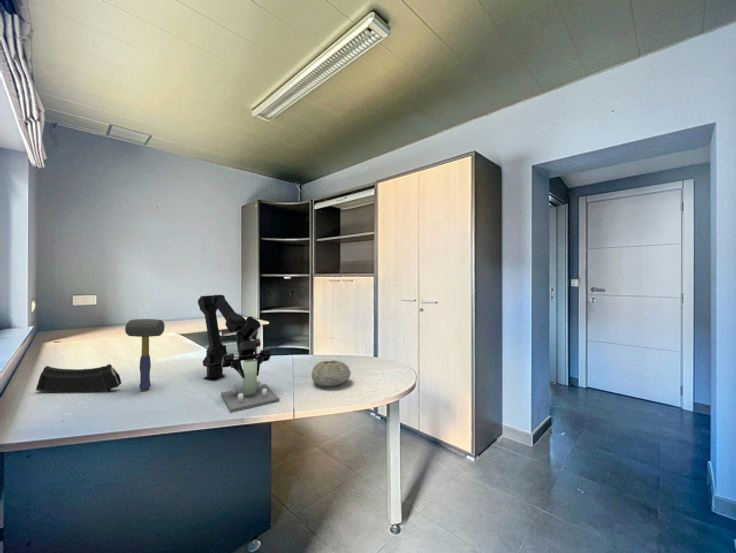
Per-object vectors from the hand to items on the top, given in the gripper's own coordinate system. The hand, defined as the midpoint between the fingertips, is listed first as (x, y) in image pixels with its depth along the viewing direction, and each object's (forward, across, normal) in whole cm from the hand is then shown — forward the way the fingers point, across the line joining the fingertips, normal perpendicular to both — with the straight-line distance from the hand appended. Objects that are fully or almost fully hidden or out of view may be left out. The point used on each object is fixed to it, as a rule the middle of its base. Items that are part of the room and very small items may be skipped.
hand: (250, 376), depth 123 cm
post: (+4, 0, +6) cm, 7 cm away
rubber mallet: (-17, -34, +30) cm, 49 cm away
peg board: (+6, 0, +7) cm, 9 cm away
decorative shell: (+8, +35, +6) cm, 37 cm away
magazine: (-25, -56, +39) cm, 73 cm away
